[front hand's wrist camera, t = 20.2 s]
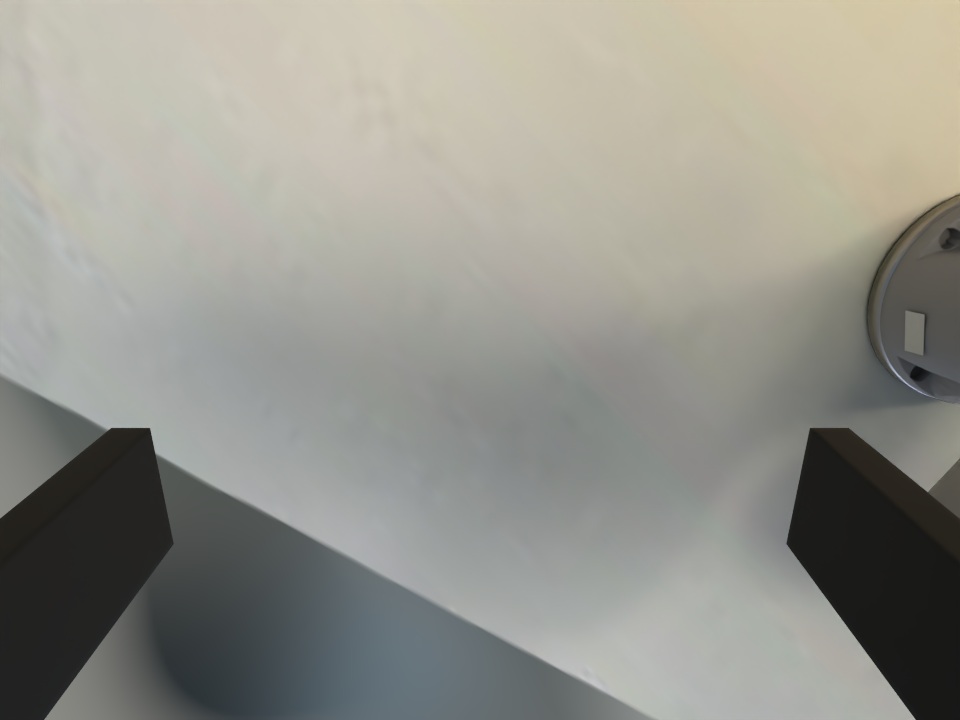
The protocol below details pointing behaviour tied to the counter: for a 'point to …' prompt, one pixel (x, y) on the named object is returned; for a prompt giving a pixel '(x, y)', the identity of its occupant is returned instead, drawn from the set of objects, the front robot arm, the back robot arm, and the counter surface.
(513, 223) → the counter surface
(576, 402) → the counter surface
